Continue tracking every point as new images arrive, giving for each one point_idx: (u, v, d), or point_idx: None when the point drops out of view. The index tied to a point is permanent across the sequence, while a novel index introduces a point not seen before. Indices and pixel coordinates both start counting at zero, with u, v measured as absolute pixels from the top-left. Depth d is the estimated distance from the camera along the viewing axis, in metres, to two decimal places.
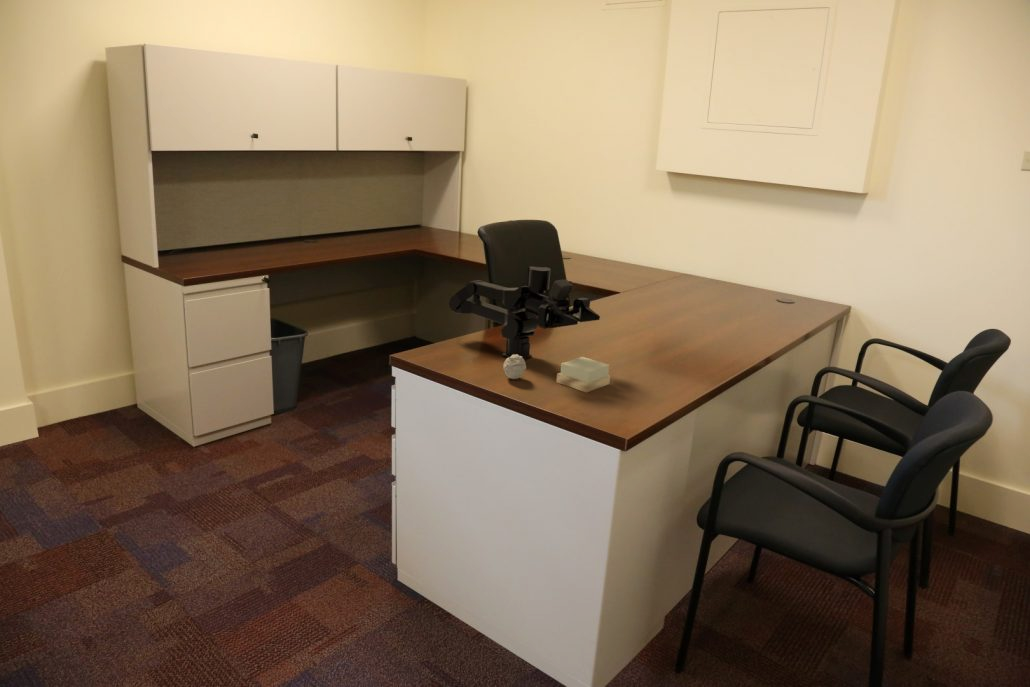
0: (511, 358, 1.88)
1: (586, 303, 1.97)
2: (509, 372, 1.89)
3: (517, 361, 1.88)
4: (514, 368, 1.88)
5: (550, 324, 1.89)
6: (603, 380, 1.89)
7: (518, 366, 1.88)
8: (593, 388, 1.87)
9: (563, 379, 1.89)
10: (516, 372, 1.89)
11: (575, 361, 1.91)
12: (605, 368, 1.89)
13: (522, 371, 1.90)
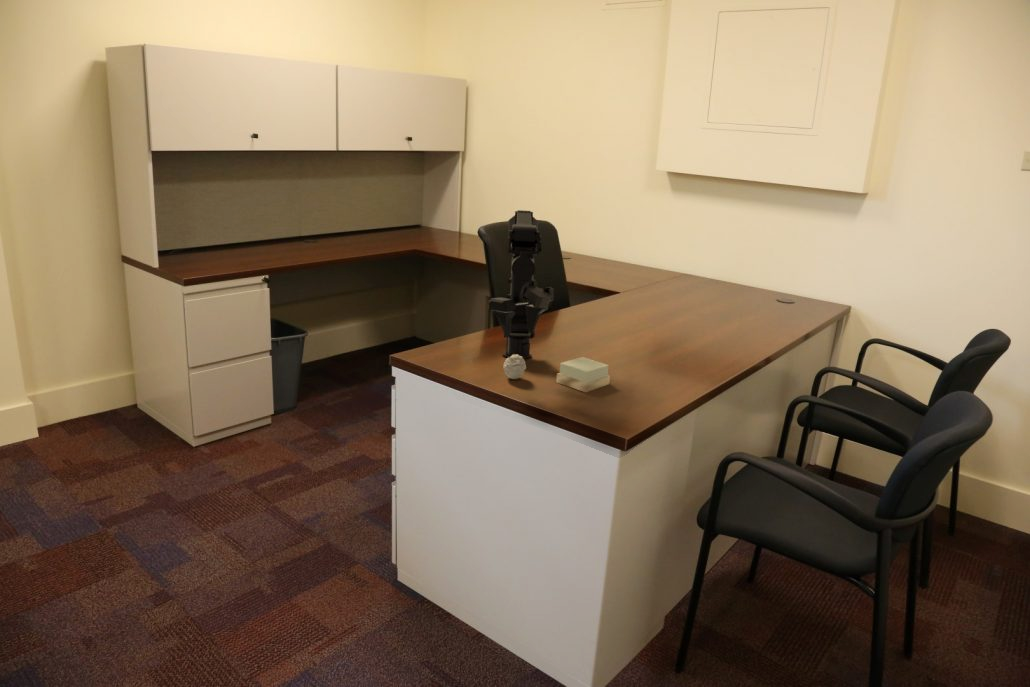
0: (511, 358, 1.88)
1: (543, 310, 1.90)
2: (509, 372, 1.89)
3: (517, 361, 1.88)
4: (514, 368, 1.88)
5: None
6: (603, 381, 1.89)
7: (518, 366, 1.88)
8: (593, 388, 1.87)
9: (563, 379, 1.89)
10: (516, 372, 1.89)
11: (574, 361, 1.91)
12: (604, 369, 1.89)
13: (522, 371, 1.90)
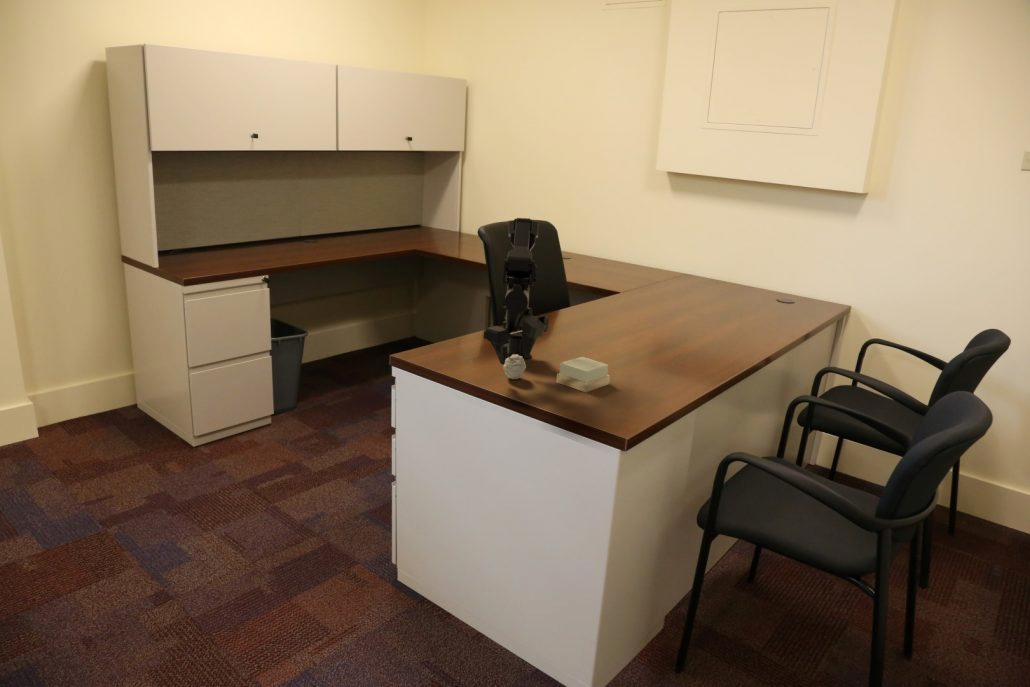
0: (511, 358, 1.88)
1: (538, 336, 1.92)
2: (509, 372, 1.89)
3: (517, 361, 1.88)
4: (514, 368, 1.88)
5: None
6: (603, 380, 1.89)
7: (518, 366, 1.88)
8: (593, 388, 1.87)
9: (563, 379, 1.89)
10: (516, 372, 1.89)
11: (574, 361, 1.92)
12: (604, 368, 1.89)
13: (522, 371, 1.90)
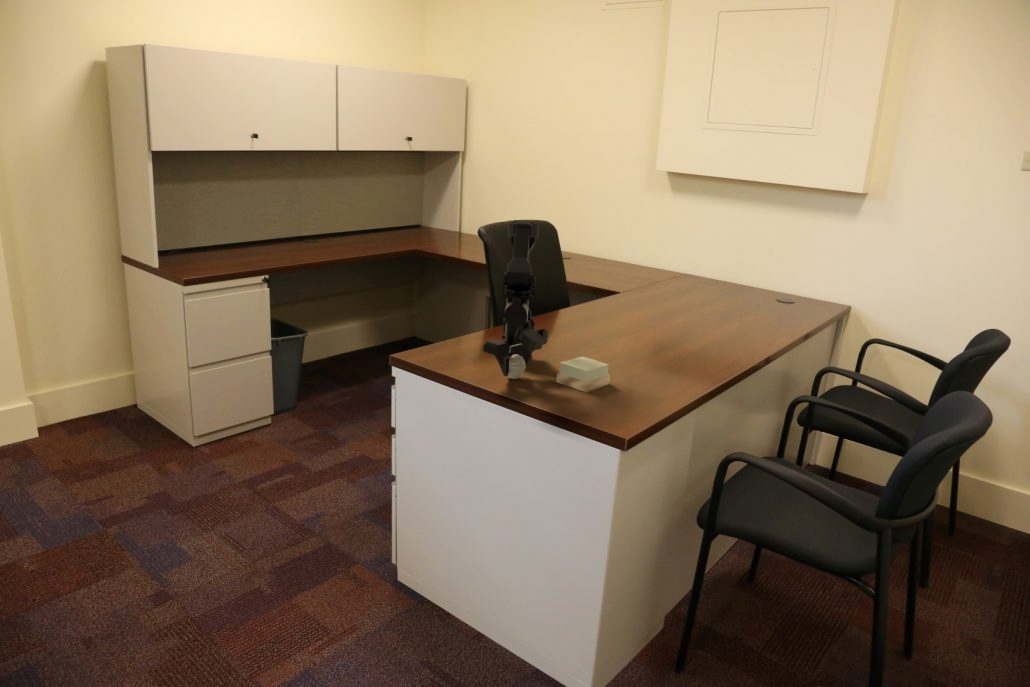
0: (511, 358, 1.88)
1: None
2: (509, 372, 1.89)
3: (517, 361, 1.88)
4: (514, 368, 1.88)
5: None
6: (603, 380, 1.89)
7: (518, 366, 1.88)
8: (593, 388, 1.87)
9: (563, 378, 1.89)
10: (516, 372, 1.89)
11: (575, 360, 1.92)
12: (604, 368, 1.89)
13: (522, 371, 1.90)
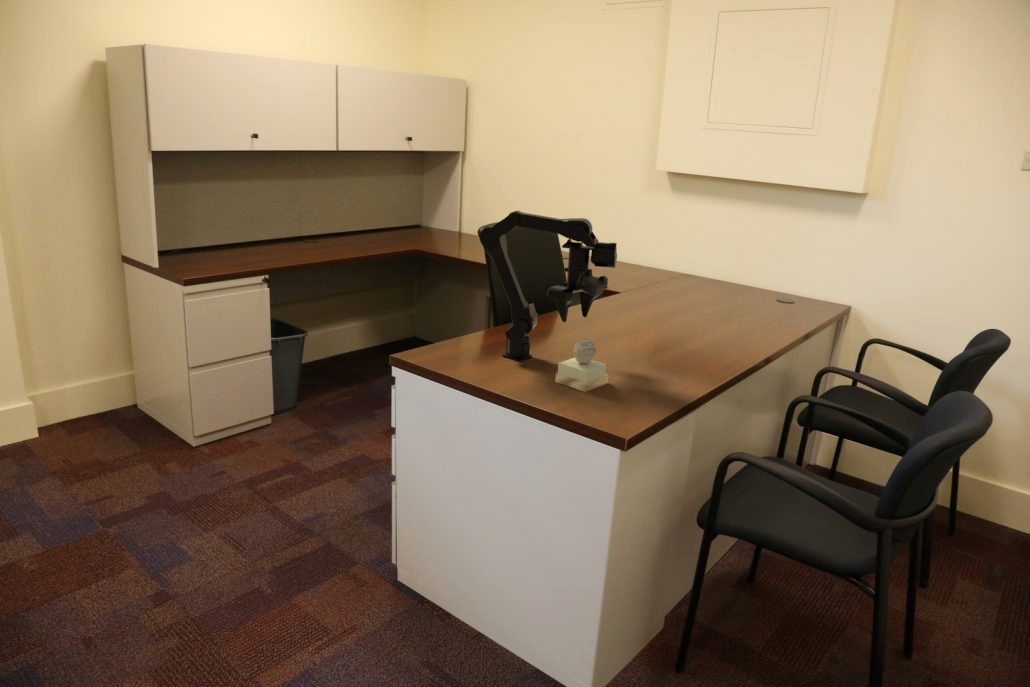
0: (583, 342, 1.86)
1: (596, 296, 2.05)
2: (580, 356, 1.87)
3: (589, 345, 1.86)
4: (586, 352, 1.86)
5: None
6: (602, 380, 1.90)
7: (590, 350, 1.86)
8: (592, 388, 1.87)
9: (562, 378, 1.89)
10: (588, 356, 1.87)
11: (572, 361, 1.92)
12: (602, 368, 1.90)
13: (593, 355, 1.89)
